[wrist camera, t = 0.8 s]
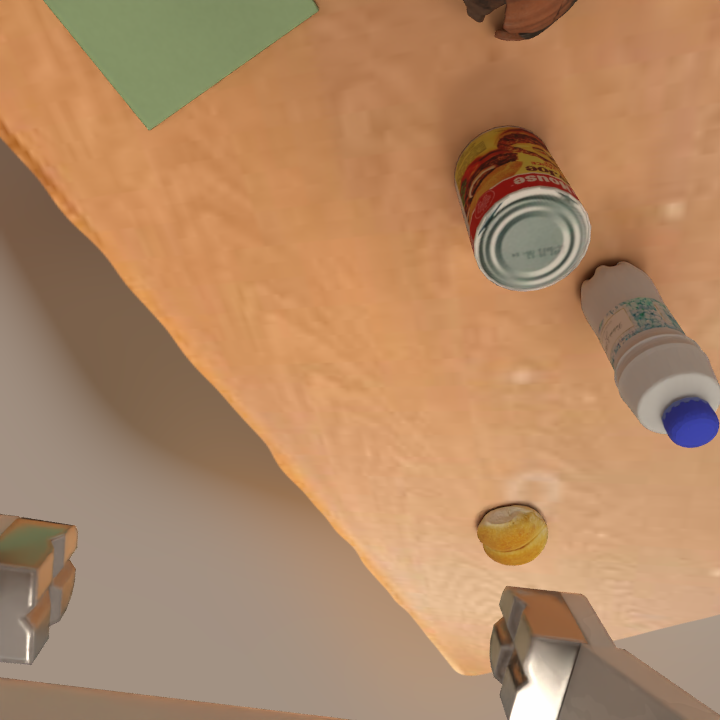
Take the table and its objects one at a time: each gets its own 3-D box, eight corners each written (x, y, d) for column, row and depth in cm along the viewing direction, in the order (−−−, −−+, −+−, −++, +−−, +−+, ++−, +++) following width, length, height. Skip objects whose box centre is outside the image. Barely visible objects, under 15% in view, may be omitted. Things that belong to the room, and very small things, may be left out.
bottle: (588, 247, 59) (673, 394, 43) (660, 258, 59) (770, 407, 43) (562, 310, 63) (631, 466, 47) (629, 320, 63) (720, 476, 47)
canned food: (570, 169, 54) (615, 237, 45) (498, 235, 58) (525, 310, 48) (506, 104, 51) (540, 162, 42) (434, 178, 55) (449, 247, 45)
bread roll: (489, 554, 86) (494, 582, 82) (469, 513, 81) (473, 540, 77) (552, 539, 84) (560, 567, 80) (536, 496, 79) (544, 523, 75)
